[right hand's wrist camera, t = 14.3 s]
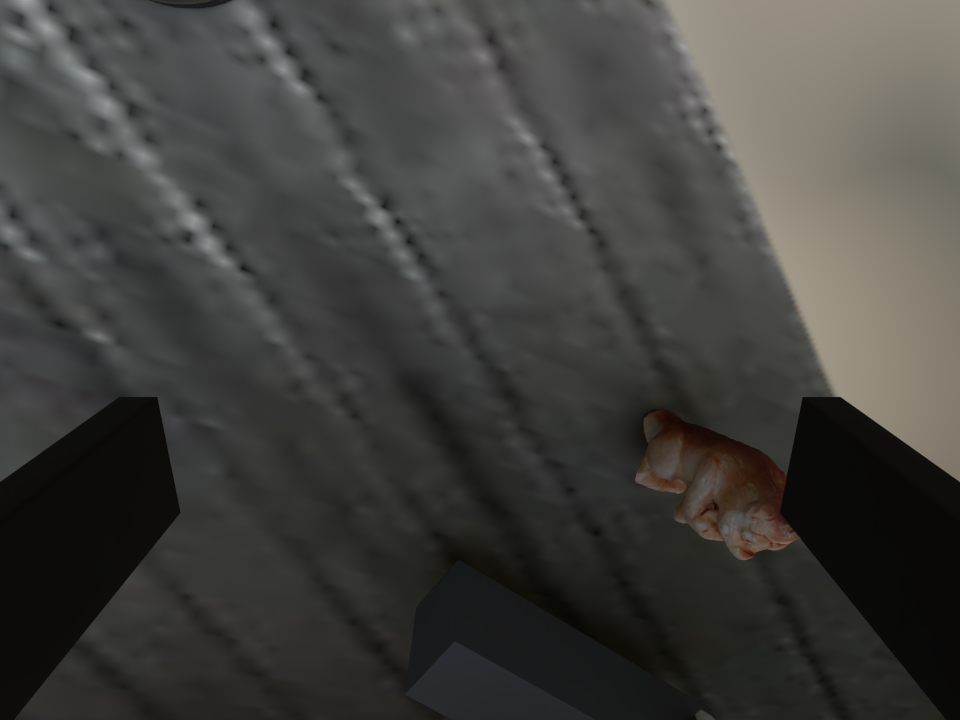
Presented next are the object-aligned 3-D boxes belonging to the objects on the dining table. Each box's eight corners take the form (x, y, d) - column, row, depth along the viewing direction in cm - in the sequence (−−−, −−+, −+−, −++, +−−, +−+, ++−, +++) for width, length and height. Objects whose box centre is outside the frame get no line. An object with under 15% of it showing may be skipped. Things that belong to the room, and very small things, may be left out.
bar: (416, 606, 47) (404, 695, 39) (458, 558, 45) (454, 641, 38) (665, 747, 52) (695, 847, 45) (711, 709, 51) (750, 806, 43)
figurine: (616, 458, 47) (674, 594, 33) (656, 373, 45) (737, 480, 31) (688, 480, 48) (775, 621, 34) (731, 396, 45) (844, 512, 31)
